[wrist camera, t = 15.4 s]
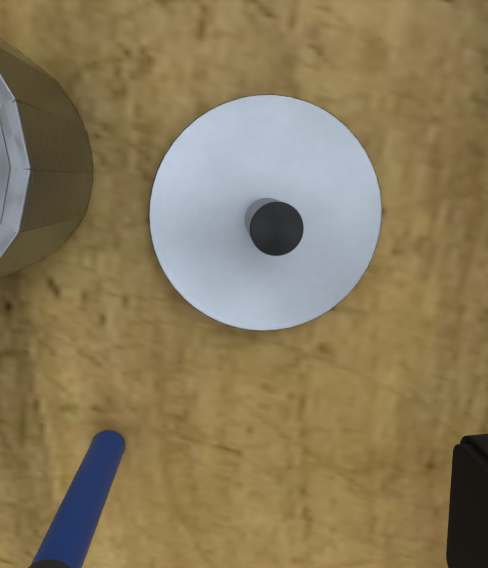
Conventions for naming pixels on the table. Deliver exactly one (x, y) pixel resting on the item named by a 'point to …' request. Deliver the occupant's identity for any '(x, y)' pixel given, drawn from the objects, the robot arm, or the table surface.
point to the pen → (81, 505)
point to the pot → (38, 163)
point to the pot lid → (265, 212)
